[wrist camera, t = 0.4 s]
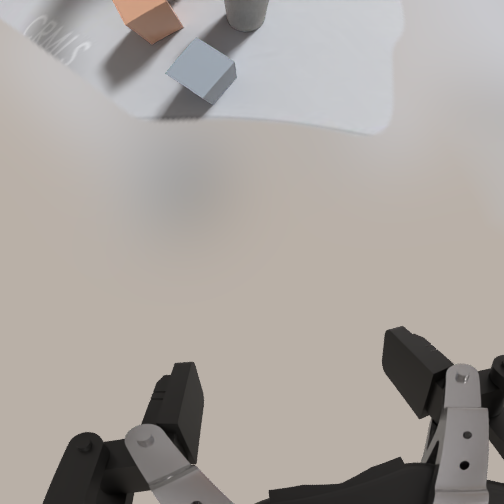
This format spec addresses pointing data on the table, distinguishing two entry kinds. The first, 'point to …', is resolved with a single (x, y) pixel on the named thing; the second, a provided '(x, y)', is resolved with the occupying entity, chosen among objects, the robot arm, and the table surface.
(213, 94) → the slate-blue block
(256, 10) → the planter
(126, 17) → the terracotta block
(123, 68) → the table surface
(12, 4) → the table surface
